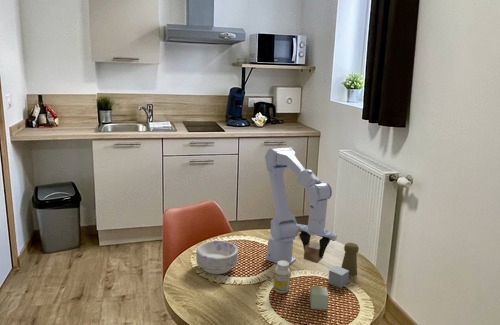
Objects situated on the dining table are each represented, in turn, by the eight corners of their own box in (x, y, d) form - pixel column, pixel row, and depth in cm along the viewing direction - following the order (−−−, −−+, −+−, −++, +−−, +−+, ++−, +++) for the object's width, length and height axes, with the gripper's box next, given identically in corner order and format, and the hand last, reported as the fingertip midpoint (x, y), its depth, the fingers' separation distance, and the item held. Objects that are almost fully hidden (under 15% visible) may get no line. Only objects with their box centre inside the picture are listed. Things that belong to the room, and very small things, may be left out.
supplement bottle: (283, 295, 136) (285, 268, 134) (270, 289, 139) (271, 263, 137) (292, 289, 140) (294, 263, 138) (279, 283, 143) (281, 257, 141)
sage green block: (311, 308, 129) (312, 294, 128) (309, 300, 134) (310, 286, 133) (327, 310, 129) (328, 295, 128) (325, 301, 134) (326, 287, 133)
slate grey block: (328, 283, 145) (329, 270, 144) (335, 278, 149) (336, 265, 148) (340, 288, 142) (341, 275, 141) (347, 283, 146) (349, 270, 145)
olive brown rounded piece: (357, 276, 151) (360, 248, 149) (340, 273, 152) (343, 246, 150) (356, 268, 157) (359, 241, 154) (340, 266, 158) (343, 239, 155)
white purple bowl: (189, 274, 146) (189, 253, 145) (205, 256, 161) (205, 237, 159) (230, 282, 143) (230, 261, 141) (242, 262, 157) (243, 243, 155)
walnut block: (303, 259, 143) (304, 245, 142) (309, 254, 147) (310, 241, 146) (316, 263, 140) (318, 249, 139) (322, 258, 144) (324, 244, 143)
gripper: (292, 215, 141) (289, 252, 144) (332, 226, 133) (328, 264, 136) (301, 210, 146) (298, 245, 149) (340, 220, 139) (336, 257, 142)
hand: (313, 254), depth 143 cm, fingers closed on walnut block, 5 cm apart
